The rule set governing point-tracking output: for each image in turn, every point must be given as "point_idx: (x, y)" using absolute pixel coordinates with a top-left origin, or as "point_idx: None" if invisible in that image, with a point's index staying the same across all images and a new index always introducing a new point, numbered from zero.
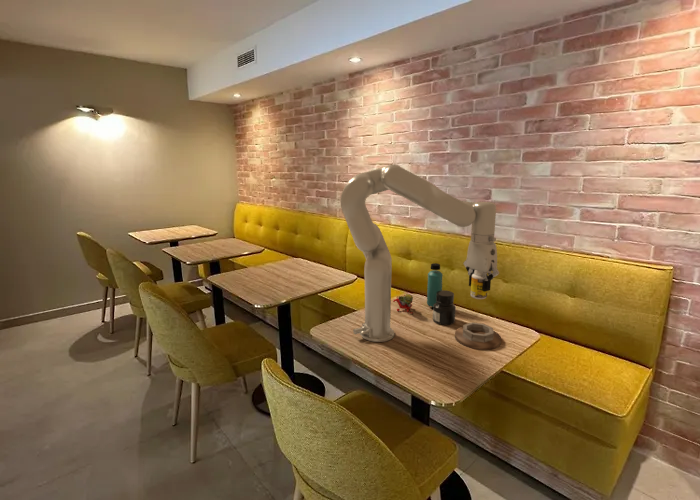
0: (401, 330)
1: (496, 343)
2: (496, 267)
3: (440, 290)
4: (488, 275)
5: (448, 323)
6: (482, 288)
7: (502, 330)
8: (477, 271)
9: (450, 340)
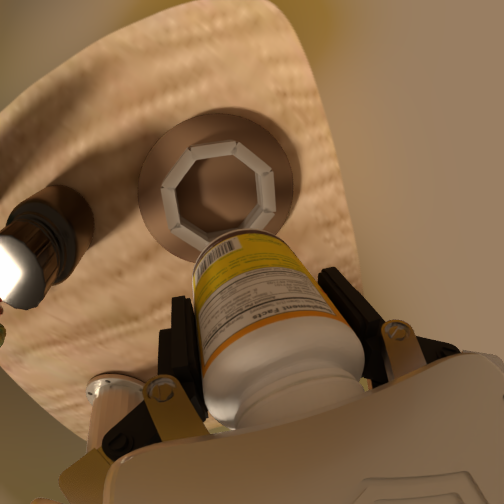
0: (105, 354)
1: (290, 175)
2: (501, 380)
3: None
4: (384, 364)
5: (93, 229)
6: None
7: (198, 63)
8: None
9: (192, 273)
